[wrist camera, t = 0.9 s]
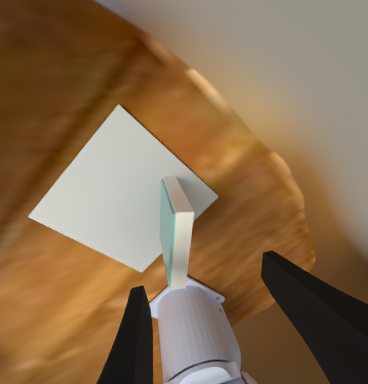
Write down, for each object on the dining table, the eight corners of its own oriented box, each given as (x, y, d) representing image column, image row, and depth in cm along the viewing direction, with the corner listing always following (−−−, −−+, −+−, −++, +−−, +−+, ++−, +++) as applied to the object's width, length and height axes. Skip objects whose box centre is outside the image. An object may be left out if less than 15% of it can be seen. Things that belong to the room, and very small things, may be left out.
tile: (175, 176, 18) (194, 211, 12) (171, 234, 21) (185, 288, 15) (161, 176, 18) (172, 212, 12) (159, 235, 21) (168, 290, 15)
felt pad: (217, 195, 21) (218, 196, 20) (141, 270, 23) (141, 272, 22) (118, 104, 15) (118, 104, 15) (30, 214, 17) (27, 216, 17)
